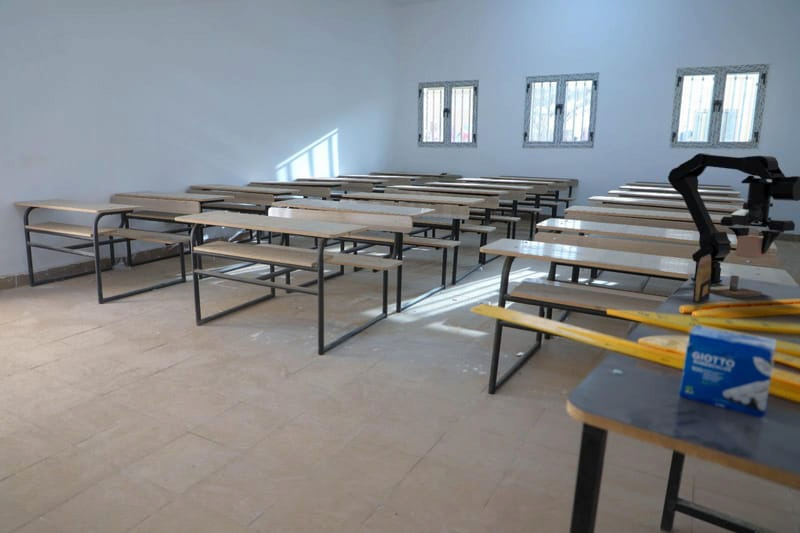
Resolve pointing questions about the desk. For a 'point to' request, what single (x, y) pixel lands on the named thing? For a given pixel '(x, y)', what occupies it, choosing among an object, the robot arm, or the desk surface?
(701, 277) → the ammunition clip
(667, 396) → the desk surface
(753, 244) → the collar
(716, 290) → the pin board
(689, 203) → the robot arm
